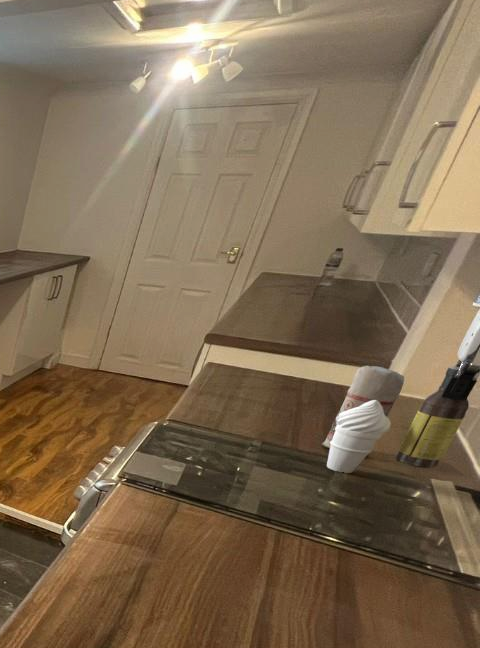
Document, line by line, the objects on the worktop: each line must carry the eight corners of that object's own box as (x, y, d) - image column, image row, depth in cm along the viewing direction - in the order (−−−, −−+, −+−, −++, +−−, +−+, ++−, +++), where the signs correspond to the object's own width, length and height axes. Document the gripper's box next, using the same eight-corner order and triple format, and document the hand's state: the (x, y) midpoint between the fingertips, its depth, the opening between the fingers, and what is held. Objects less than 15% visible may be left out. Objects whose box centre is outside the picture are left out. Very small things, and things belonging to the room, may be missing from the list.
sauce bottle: (443, 468, 117) (500, 372, 108) (422, 471, 116) (478, 374, 107) (405, 455, 123) (456, 363, 114) (384, 458, 121) (434, 365, 113)
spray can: (317, 440, 143) (355, 361, 134) (361, 447, 139) (403, 366, 131) (325, 452, 137) (366, 369, 128) (372, 459, 133) (417, 375, 124)
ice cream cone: (347, 479, 123) (384, 408, 116) (304, 463, 130) (337, 395, 123) (374, 475, 125) (411, 404, 118) (330, 459, 132) (363, 392, 125)
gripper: (546, 307, 97) (484, 410, 105) (532, 297, 108) (477, 391, 116) (479, 301, 102) (425, 400, 110) (473, 292, 113) (424, 383, 121)
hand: (452, 395), depth 113 cm, fingers closed on sauce bottle, 4 cm apart
